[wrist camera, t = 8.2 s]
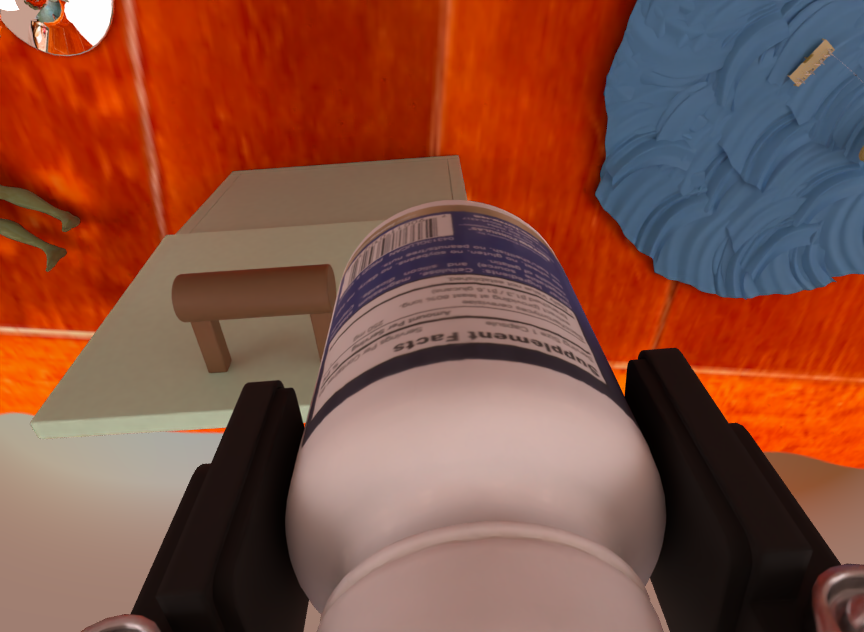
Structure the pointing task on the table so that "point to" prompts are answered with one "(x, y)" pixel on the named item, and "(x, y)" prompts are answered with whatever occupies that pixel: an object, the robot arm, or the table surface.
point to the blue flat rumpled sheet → (739, 142)
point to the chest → (327, 194)
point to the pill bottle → (470, 444)
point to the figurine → (22, 235)
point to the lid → (206, 331)
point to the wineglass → (59, 24)
